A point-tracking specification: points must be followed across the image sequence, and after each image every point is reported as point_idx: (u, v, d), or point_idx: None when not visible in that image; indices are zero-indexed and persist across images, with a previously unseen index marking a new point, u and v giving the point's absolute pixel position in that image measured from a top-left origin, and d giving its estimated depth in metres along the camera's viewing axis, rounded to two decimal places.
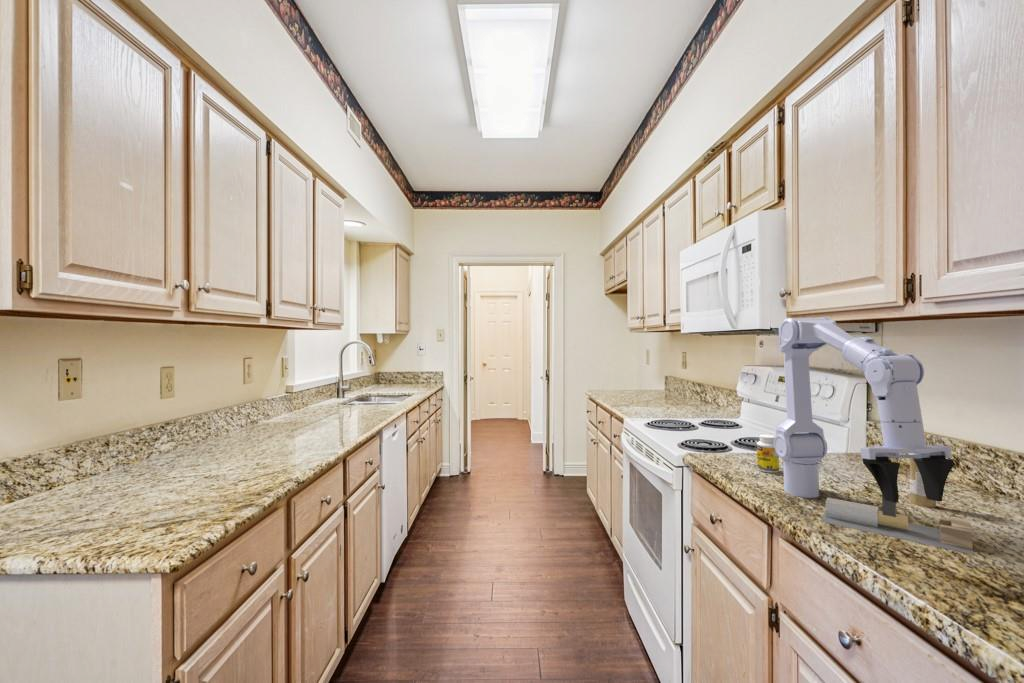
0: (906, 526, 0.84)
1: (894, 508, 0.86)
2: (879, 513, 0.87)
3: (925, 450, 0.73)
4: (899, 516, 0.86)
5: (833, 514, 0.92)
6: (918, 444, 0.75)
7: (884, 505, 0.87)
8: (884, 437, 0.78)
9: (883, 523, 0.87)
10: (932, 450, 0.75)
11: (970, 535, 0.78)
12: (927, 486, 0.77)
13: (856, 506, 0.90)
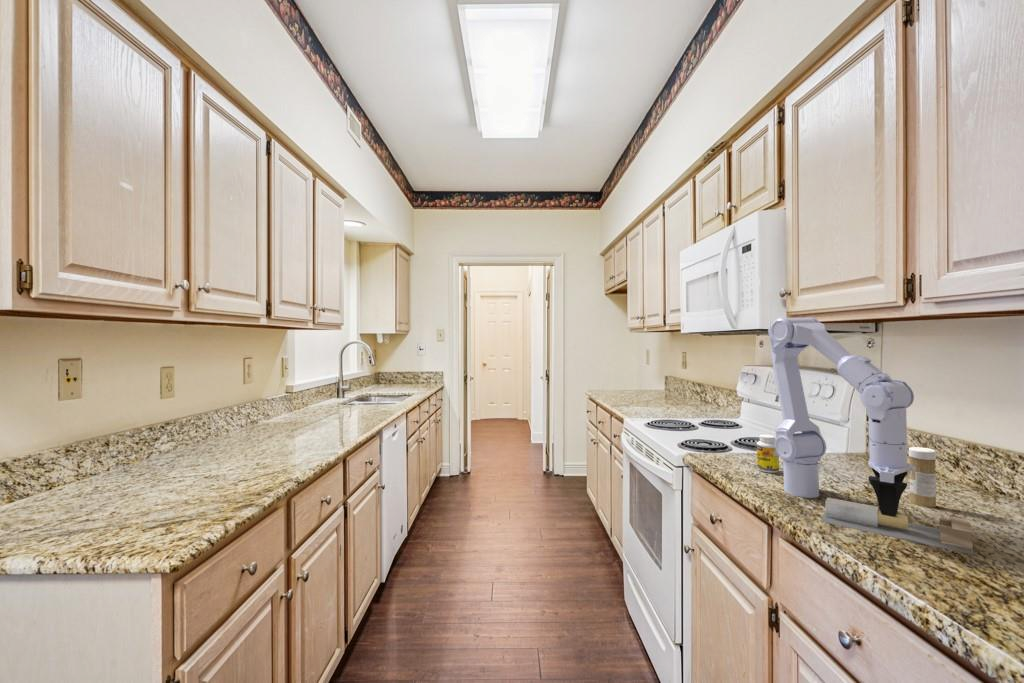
0: (906, 526, 0.84)
1: None
2: (879, 513, 0.87)
3: (915, 468, 0.84)
4: (899, 516, 0.86)
5: (833, 514, 0.92)
6: None
7: None
8: (881, 457, 0.85)
9: (883, 523, 0.87)
10: None
11: (970, 535, 0.78)
12: None
13: (856, 506, 0.90)
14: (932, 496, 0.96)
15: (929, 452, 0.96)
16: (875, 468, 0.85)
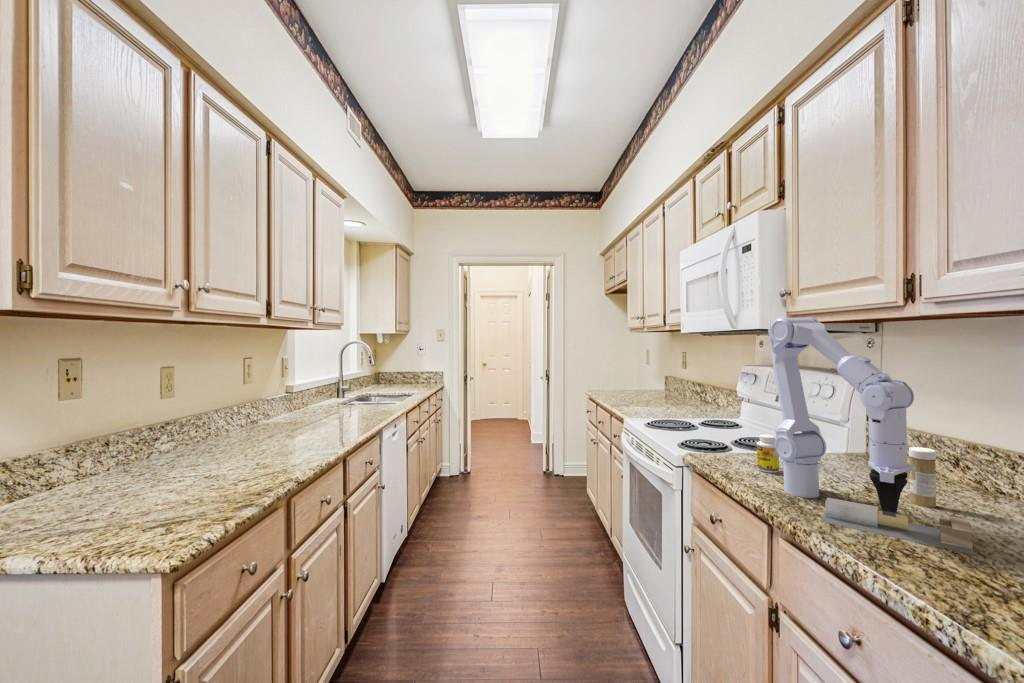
0: (906, 526, 0.84)
1: None
2: (879, 513, 0.87)
3: (915, 468, 0.84)
4: (899, 516, 0.86)
5: (833, 514, 0.92)
6: None
7: None
8: (881, 457, 0.85)
9: (883, 523, 0.87)
10: None
11: (970, 535, 0.78)
12: None
13: (856, 506, 0.90)
14: (932, 496, 0.96)
15: (929, 452, 0.96)
16: (875, 468, 0.85)
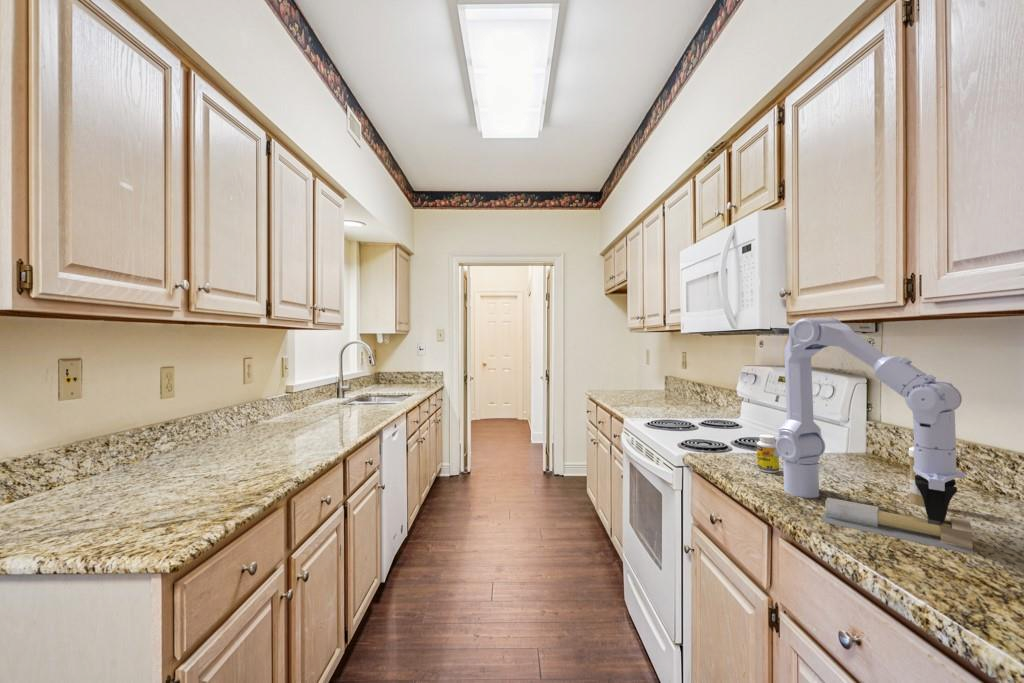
0: None
1: None
2: (924, 522, 0.83)
3: None
4: (946, 525, 0.81)
5: (833, 514, 0.92)
6: None
7: None
8: (929, 463, 0.81)
9: (928, 532, 0.82)
10: None
11: (970, 535, 0.78)
12: None
13: (856, 506, 0.90)
14: None
15: None
16: (922, 475, 0.81)
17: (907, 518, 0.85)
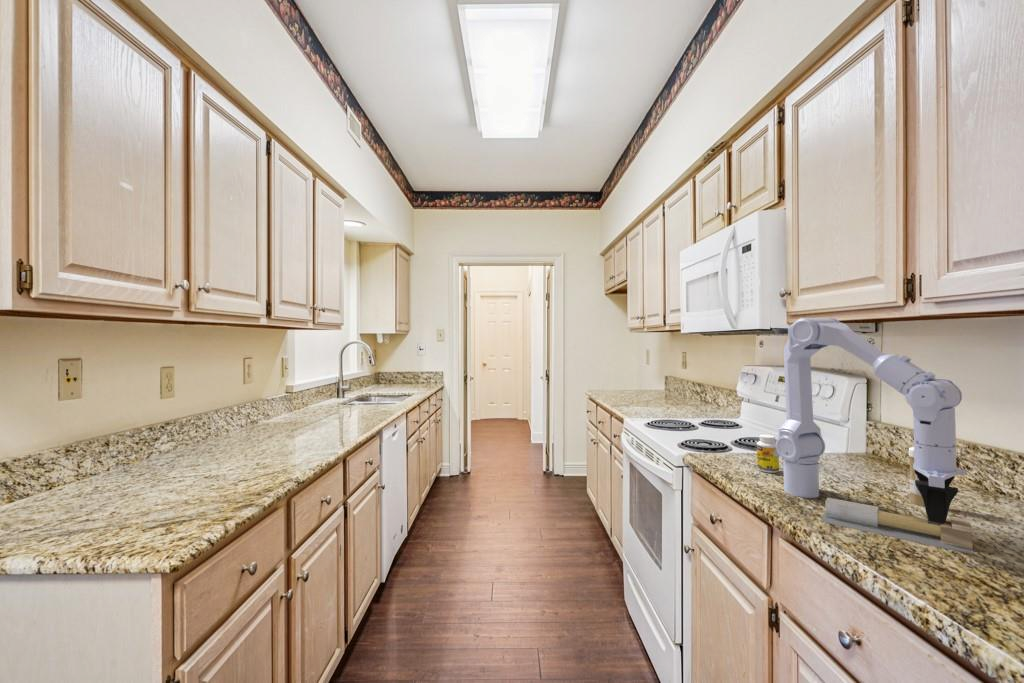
0: None
1: None
2: (924, 522, 0.83)
3: None
4: (946, 525, 0.81)
5: (833, 514, 0.92)
6: None
7: None
8: (929, 460, 0.81)
9: (928, 532, 0.82)
10: None
11: (970, 535, 0.78)
12: None
13: (856, 506, 0.90)
14: None
15: None
16: (922, 472, 0.81)
17: (907, 518, 0.85)
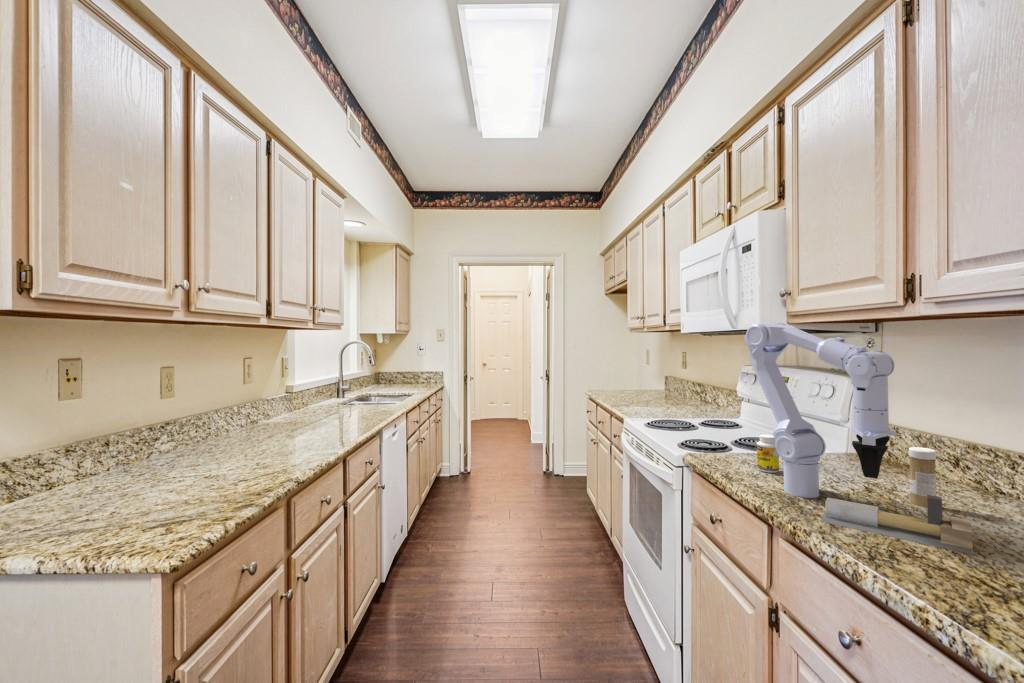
0: None
1: (941, 517, 0.81)
2: (924, 522, 0.83)
3: None
4: (946, 525, 0.81)
5: (833, 514, 0.92)
6: (888, 428, 0.90)
7: (930, 513, 0.82)
8: (864, 423, 0.90)
9: (928, 532, 0.82)
10: None
11: (970, 535, 0.78)
12: None
13: (856, 506, 0.90)
14: None
15: (929, 452, 0.96)
16: (858, 433, 0.90)
17: (907, 518, 0.85)
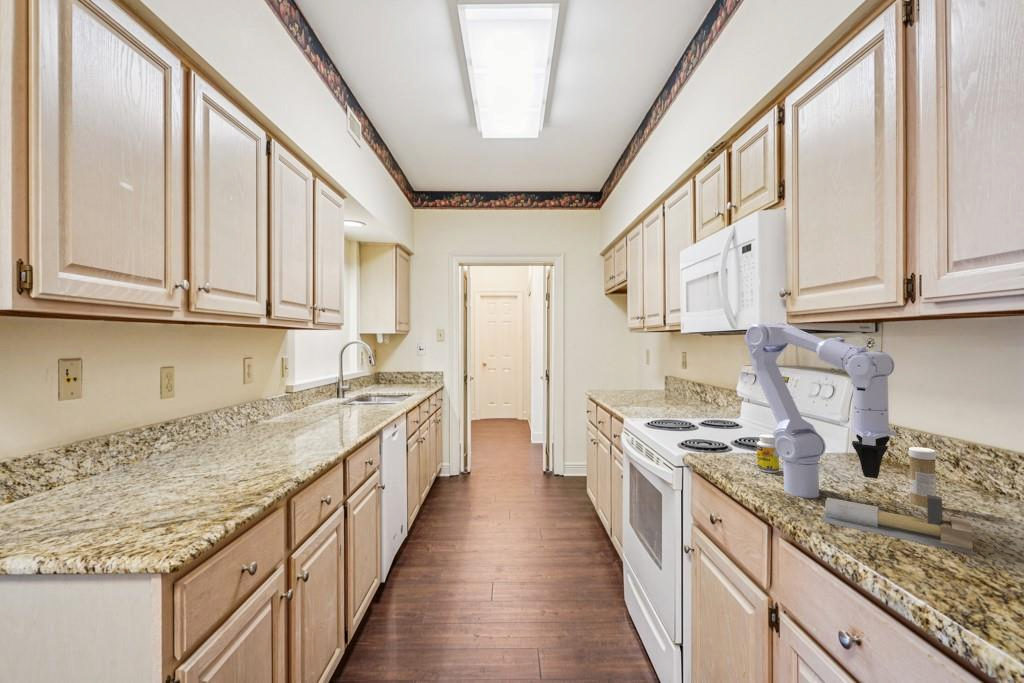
0: None
1: (941, 517, 0.81)
2: (924, 522, 0.83)
3: None
4: (946, 525, 0.81)
5: (833, 514, 0.92)
6: (888, 428, 0.90)
7: (930, 513, 0.82)
8: (864, 423, 0.90)
9: (928, 532, 0.82)
10: None
11: (970, 535, 0.78)
12: None
13: (856, 506, 0.90)
14: None
15: (929, 452, 0.96)
16: (858, 433, 0.90)
17: (907, 518, 0.85)
